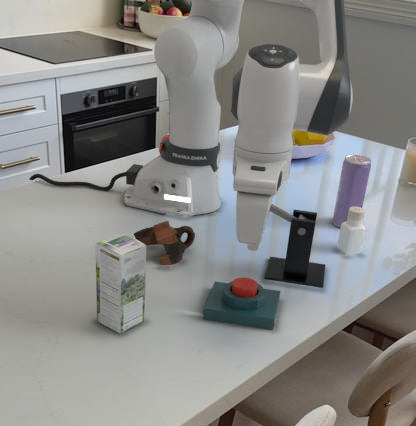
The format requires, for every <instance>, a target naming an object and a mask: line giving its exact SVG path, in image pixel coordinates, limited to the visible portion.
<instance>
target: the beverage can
mask: <svg viewBox="0 0 416 426" xmlns="http://www.w3.org/2000/svg"><path fill="white" fill-rule="evenodd" d="M371 168H372V159H371V158H370V157H368V156H365V155H361V154H347V155H345V156H344V160H343V161H342V166H341V172H340V177H339V183H338V188H337V194H336V199H335V205H334V210H333V216H332V222H333V224H334V226H335V227H338V228H340V229H341V224H342V223H343V222H346V221H347V219H348V212H349V208H350V207H361V208H363V207H364V203H365V198H366V197H365V196H366V192H367V187H368V183H369V178H370V173H371Z"/></svg>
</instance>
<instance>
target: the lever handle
mask: <svg viewBox="0 0 416 426" xmlns="http://www.w3.org/2000/svg"><path fill="white" fill-rule="evenodd" d="M269 212H271V213H273V214H274V215H276V216H278V217H280V218H281V219H284V220H285V221H287V222H289V223H291V219H292V218H296V217H295V216H293V214H291V213H289V212H287V211H286V210H284V209H283V208H280V207H279V206H277V205H275V204H273V203H272V204H271V207H270V211H269ZM298 219H305V220H310V219H308V218H306V217H304V216H303V215H301V214H300V215H299V217H298Z"/></svg>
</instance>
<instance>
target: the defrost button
mask: <svg viewBox="0 0 416 426" xmlns="http://www.w3.org/2000/svg"><path fill="white" fill-rule="evenodd" d="M232 281H233V282H232V290H231V291H232V294H234V295H236V296H238V297H244V298H248V297H254V296H256V294H257V288H258V284H259V283H258V281H256V280H255V279H253V278H250V277H243V276H242V277H237V278H234V279H233V280H232Z"/></svg>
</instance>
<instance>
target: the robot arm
mask: <svg viewBox="0 0 416 426" xmlns="http://www.w3.org/2000/svg"><path fill="white" fill-rule="evenodd" d="M244 2H245V0H191V8H190V12H189V14H188V16H187V18H182V19H179V20H176V21H174V22H171V23H170V24H169V25H168V26H167V27H166V28H164V29H163V31H162V32H160V34H159V35H158V36H157V38H156V41H155V43H154V48H153V54H154V60H155V63H156V66H157V67H158V69H159V71H160V73H161V74H162V75H163V78H164V81H165V86H166V92H167V97H168V105H169V106H168V107H169V108H168V110H169V111H168V112H169V113H168V116H169V117H168V118H169V121H168V134H164V136H163V137H162V138H161V141H160V143H159V146H158V153H159V155H158V156H157V157H154V158H153V159H152V160H150V161H148V162H147V163H145V164H144V165H142V164H136V163H133V164H132V165H131V166H130V167H129V168H128V169H126V171H123V172H119V173H117V174H115V175H113V177H112V178H111V179H110V182H109V184H108V185H107V186H100V185H97V184H94V183H91V182H88V181H57V180H53V179H51V178H49V177H47V176H45V175H44V174H42V173H34V174H32V175H31V176H30V178H28V179H29V181H34V180H36V179H41V180H43V181H44V182H46V183H48V184H50V185H53V186H57V187H87V188H91V189H93V190H97V191H102V192H107V191H110V190H112V189H113V188H114V186H115V183H116V181H117V180H119V179H120V178H125V183H126V185H130V187H128V189H127V190H126V191H125V192H124V195H123V203H124V204H125V206H127V207H131V208H136V209H141V210H145V211H149V212H154V213H158V214H161V215H166V214H173V215H178V216H188V217H193V216H197V215H205V214H211V213H213V212H215V211H218V210H219V209H220V208H221V206H222V201H221V196H220V191H219V190H220V189H219V177H218V176H219V175H218V171H219V167H220V163H221V142H220V130H221V129H220V128H221V117H222V106H221V104H220V101H218V97H217V91H216V85H215V73H216V71H217V70H220V69H222V68H224V67H225V66H227V64H229V62H230V61H231V60H232V58H234V56H235V54H236V53H237V51H238V49H239V44H240V35H239V30H240V24H241V21H242V20H241V19H242V13H243V7H244V4H245V3H244ZM298 2H299V3H300V2H301V4H303V5H304V6H306V7H307V8H308V9H310V10H311V12H312V13H313V14H314V16H315V18H316V21H317V29H318V30H317V31H318V32H317V33H318V44H319V59H320V60H319V61H320V62H319V63H317V64H309V63H300V57H299V55H298V53H297V52H296V51H295V50H294V49H292V48H290V47H287V46H285V45H282V44H276V43H264V44H263V43H262V44H259V45H255V46H252V47H251V48H249V50H247V52H246V54H245V58H244V62H243V66H242V67H241V68H240V69H238V71H237V72H236V73H235V74H234V75H233V77H232V95H231V105H230V106H231V108H230V113H231V114H232V115H233V117H234V118H235V120H236V121H237V123H238V126H237V129H238V130H237V132H236V135H235V138H234V146H233V147H234V148H233V158H232V159H233V160H232V175H233V183H232V189H233V191H235V192H236V200H235V201H236V202H235V203H236V204H235V206H236V207H235V210H236V212H235V213H236V214H235V215H236V216H235V218H236V220H235V223H236V224H235V227H236V239H237V241H238V242H239V243H242V244H247V245H246V248H247V250H248V251H255V252H256V251H258V250H259V247H260V244H261V243H262V240H263V237H264V234H265V229H266V225H267V221H268V219H269V214H270V212H271V211H270V207H271V204H273V199H274V197H275V196H276V195H277V193H278V191H279V189H280V187H281V186H282V185H283V184H284V182H286V181H287V180H289V178H290V174H291V165H292V159H291V158H292V151H293V139H292V130H301V131H307V132H310V133H316V134H321V135H329V134H331V133H333V134H334V133H335V132H336V131H338V130H339V129H340V128H342V127H343V126H344V125H345V124H346V123H347V122H348V121H349V117H350V115H351V111H352V107H353V98H354V93H353V86H352V85H353V84H352V81H351V73H350V66H349V57H348V42H347V27H346V25H347V23H346V11H345V9H346V8H345V0H298Z"/></svg>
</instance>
